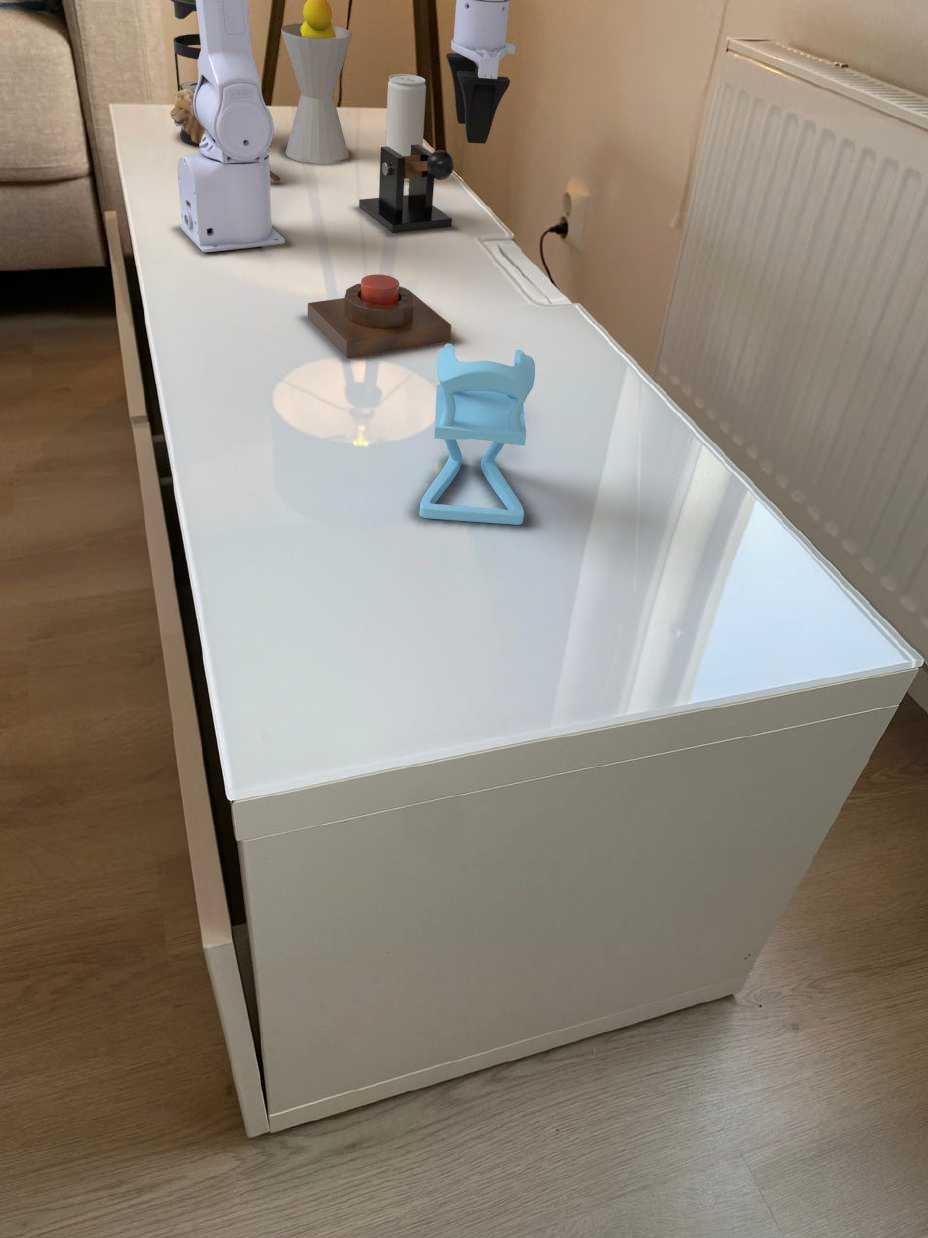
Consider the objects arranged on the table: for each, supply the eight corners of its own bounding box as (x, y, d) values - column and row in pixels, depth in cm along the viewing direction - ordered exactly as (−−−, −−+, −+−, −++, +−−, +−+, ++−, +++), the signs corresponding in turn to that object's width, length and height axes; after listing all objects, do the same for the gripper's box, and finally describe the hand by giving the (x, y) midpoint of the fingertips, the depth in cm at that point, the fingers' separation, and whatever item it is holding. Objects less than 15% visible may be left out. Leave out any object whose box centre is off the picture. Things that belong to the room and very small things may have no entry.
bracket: (451, 228, 121) (457, 160, 116) (392, 235, 117) (395, 165, 112) (416, 203, 126) (420, 137, 121) (358, 209, 123) (360, 141, 118)
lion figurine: (168, 167, 128) (161, 90, 123) (191, 157, 132) (185, 82, 126) (271, 190, 125) (268, 112, 119) (291, 179, 129) (289, 103, 123)
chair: (518, 466, 81) (539, 324, 73) (523, 526, 74) (546, 377, 67) (422, 459, 80) (433, 315, 72) (419, 518, 74) (430, 368, 66)
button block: (346, 359, 92) (347, 322, 90) (307, 319, 98) (306, 284, 96) (450, 341, 97) (453, 306, 95) (407, 304, 103) (408, 270, 100)
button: (371, 309, 94) (371, 291, 92) (354, 294, 96) (354, 276, 95) (405, 304, 95) (406, 286, 94) (387, 289, 97) (388, 271, 96)
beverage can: (419, 185, 132) (425, 84, 124) (383, 181, 132) (386, 80, 124) (421, 174, 136) (427, 75, 128) (386, 170, 135) (389, 71, 128)
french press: (249, 151, 136) (240, -50, 121) (177, 148, 135) (159, -56, 120) (249, 127, 145) (241, -64, 130) (182, 123, 143) (166, -70, 129)
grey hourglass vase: (282, 142, 141) (274, -174, 118) (347, 145, 142) (351, -166, 120) (285, 163, 134) (278, -169, 111) (353, 165, 136) (359, -160, 113)
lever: (459, 178, 112) (457, 148, 110) (436, 180, 110) (433, 150, 109) (414, 180, 120) (411, 152, 119) (392, 182, 119) (389, 154, 118)
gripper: (532, 12, 103) (516, 153, 112) (507, -13, 114) (494, 116, 122) (465, 7, 102) (454, 149, 110) (446, -18, 112) (437, 113, 121)
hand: (471, 132), depth 116 cm, fingers open, 7 cm apart
